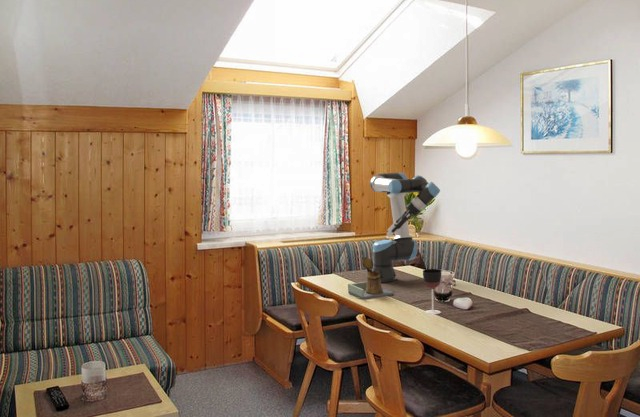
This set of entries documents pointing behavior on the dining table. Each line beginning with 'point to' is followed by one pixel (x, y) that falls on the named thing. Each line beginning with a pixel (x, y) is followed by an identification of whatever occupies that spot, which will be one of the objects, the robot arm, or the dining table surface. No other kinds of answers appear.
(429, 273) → the wineglass
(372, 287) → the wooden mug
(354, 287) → the corner bay
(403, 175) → the robot arm
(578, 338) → the dining table surface
